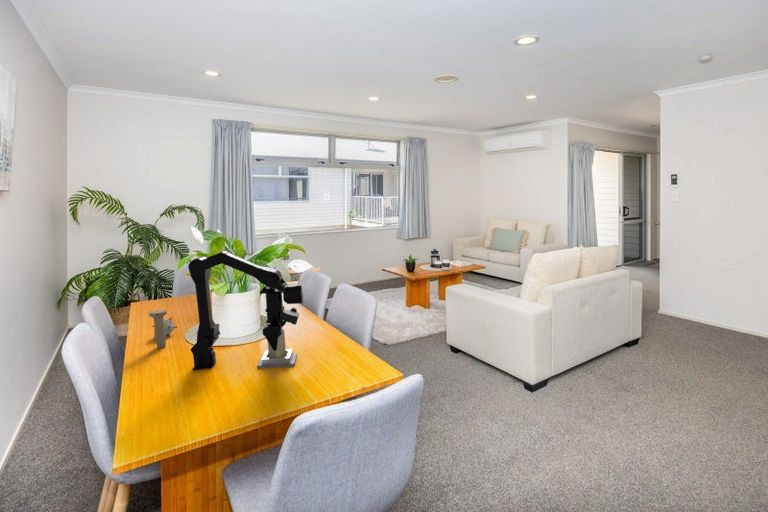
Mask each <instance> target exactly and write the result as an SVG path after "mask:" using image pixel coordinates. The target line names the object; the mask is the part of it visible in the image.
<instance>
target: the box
mask: <svg viewBox="0 0 768 512" xmlns="http://www.w3.org/2000/svg"><path fill="white" fill-rule="evenodd" d="M286 349H287V347H286V338H285V330H284V329H282V334H281V335H280V336H279V337H278V344H277V350H276V351H273V349H272V347H271V345H270V344H269V342H268V341H267V350H268V352H269V358H274V357H286Z"/></svg>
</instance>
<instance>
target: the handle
mask: <svg viewBox="0 0 768 512" xmlns="http://www.w3.org/2000/svg"><path fill="white" fill-rule="evenodd" d="M167 313H168V311H167V309H157V310H152V311H149V312H148V316H149V317H150V318H153V323H154V324H153V326H154V327H153V328H154V329H153V330H154V334H153V335H154V340H155V344H156V348H157V349H163V348H165V347H166V342H167V335H166V333H165V327H164V321H163V319H164V316H166V315H167Z"/></svg>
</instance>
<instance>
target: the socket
mask: <svg viewBox="0 0 768 512" xmlns="http://www.w3.org/2000/svg"><path fill="white" fill-rule="evenodd" d="M297 356H298V353H297V352H294V353H293V348H286V357H274V358H269V352H268V349H267V350H264V353H263V354H262V355H261V356H260V359H259V361H258V363H257V366H256V368H257V369H269V368H270V369H272V368H285V367H295V365H296V362H297Z"/></svg>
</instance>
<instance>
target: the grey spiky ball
mask: <svg viewBox="0 0 768 512" xmlns="http://www.w3.org/2000/svg"><path fill="white" fill-rule="evenodd" d="M172 318H173V317H170V318H163V321H164V327H165V333H166V336H168V337H170V334H171V333H172V332H173V331H174V330H175V329H177V328H178V326H176V325H175V323H174V322H173V320H172ZM151 327H153V328H154V325H152V326H151Z"/></svg>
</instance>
